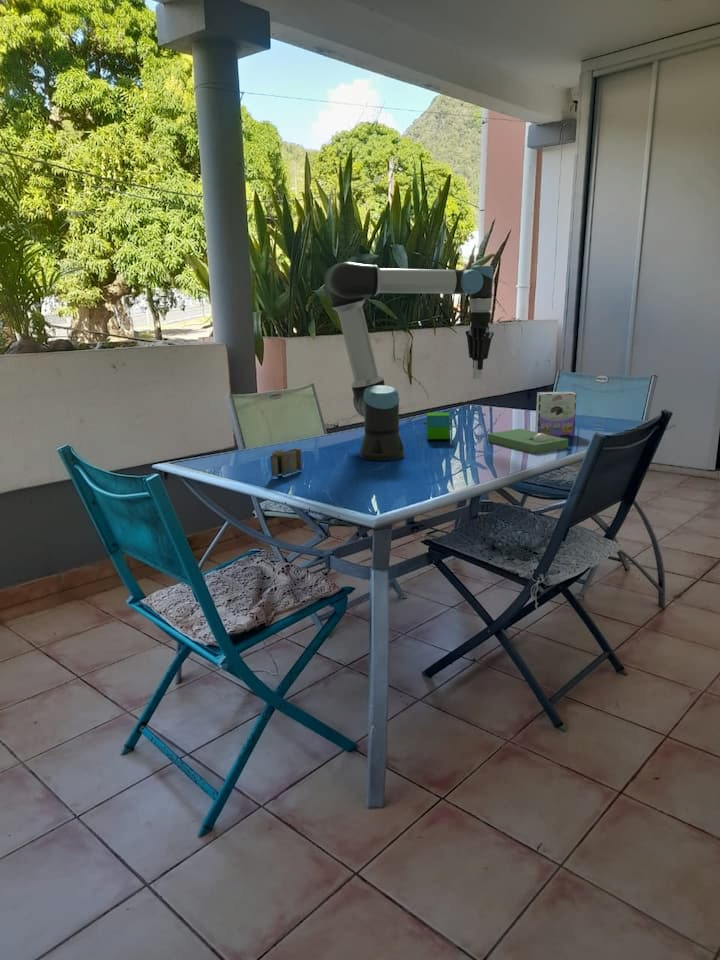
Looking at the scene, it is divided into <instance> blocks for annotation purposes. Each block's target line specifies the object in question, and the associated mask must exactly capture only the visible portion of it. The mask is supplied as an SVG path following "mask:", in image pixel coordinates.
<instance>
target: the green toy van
mask: <svg viewBox="0 0 720 960" xmlns="http://www.w3.org/2000/svg"><path fill="white" fill-rule="evenodd" d="M424 425H425V426H426V438H427V439H426V440H427V441H428V442H429V441H430V442H431V440H445V441H447V442H448V441H449V440H450V426H451V425H452V422H450V412H426V422H424Z"/></svg>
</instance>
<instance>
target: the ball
mask: <svg viewBox="0 0 720 960" xmlns="http://www.w3.org/2000/svg"><path fill="white" fill-rule="evenodd" d="M533 441H548V437H547V436H546V435H545V434H543V433H538V434H536V435H535V436H534V439H533Z"/></svg>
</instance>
